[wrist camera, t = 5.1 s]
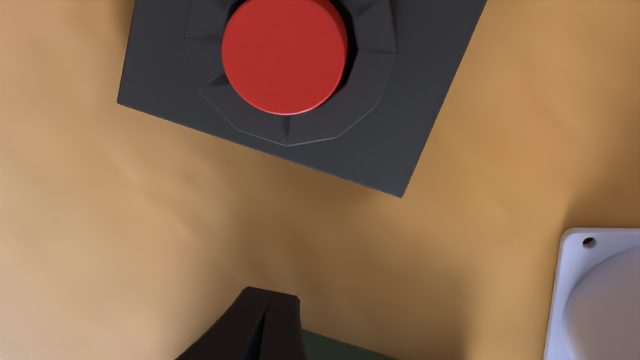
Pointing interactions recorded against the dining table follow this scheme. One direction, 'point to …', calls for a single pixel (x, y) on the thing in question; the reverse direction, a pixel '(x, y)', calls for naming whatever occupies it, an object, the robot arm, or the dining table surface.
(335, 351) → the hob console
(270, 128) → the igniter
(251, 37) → the button
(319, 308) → the dining table surface
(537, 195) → the dining table surface
